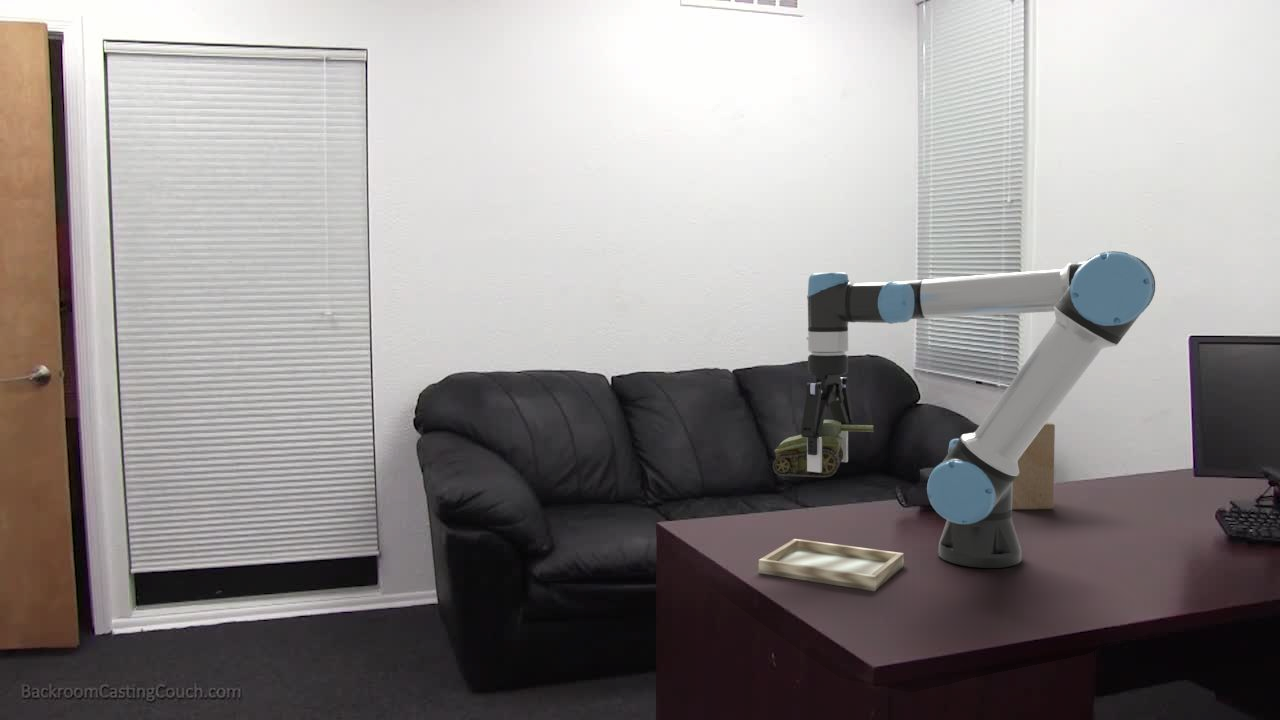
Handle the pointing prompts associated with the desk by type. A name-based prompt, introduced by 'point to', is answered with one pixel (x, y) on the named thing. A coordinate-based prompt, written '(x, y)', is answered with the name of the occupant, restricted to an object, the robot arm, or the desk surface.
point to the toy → (795, 451)
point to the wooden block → (1036, 473)
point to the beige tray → (832, 564)
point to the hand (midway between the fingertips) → (828, 466)
